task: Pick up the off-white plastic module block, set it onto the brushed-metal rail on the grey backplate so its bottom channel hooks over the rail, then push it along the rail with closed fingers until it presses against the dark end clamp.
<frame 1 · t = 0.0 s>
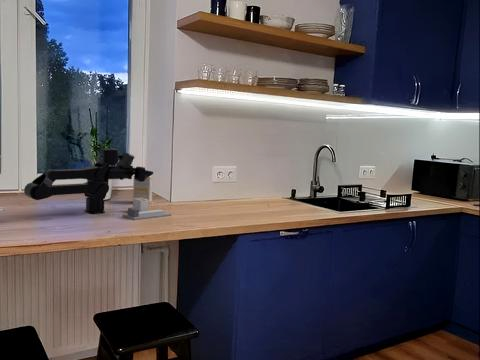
hand: (147, 171, 201), 17 cm above the countertop, tool horizontal, fingers open, 9 cm apart
rail board: (147, 215, 185), on the countertop
supplement box: (142, 202, 213), on the countertop
module: (140, 211, 193), on the countertop
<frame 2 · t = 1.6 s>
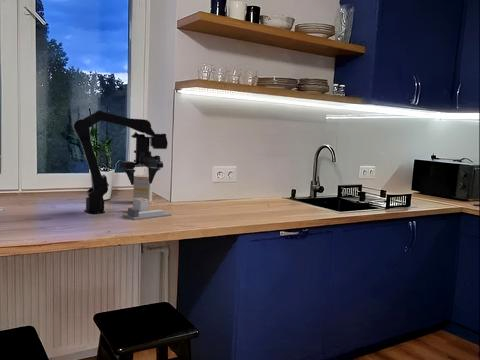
hand: (141, 184, 191), 12 cm above the countertop, tool pointing down, fingers open, 9 cm apart
nothing on the countertop moved.
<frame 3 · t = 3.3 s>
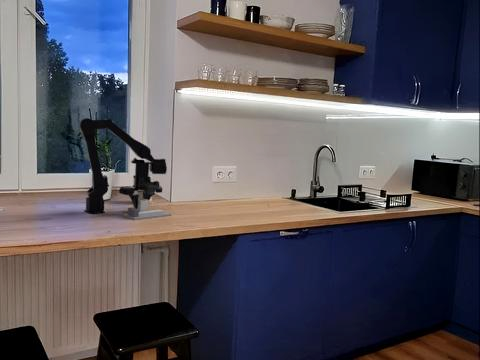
hand: (140, 209, 193), 1 cm above the countertop, tool pointing down, fingers closed on module, 4 cm apart
module: (140, 211, 193), on the countertop, touching gripper
everything else where it was.
when the fingers open (3 cm above the countertop, at t = 6.8 s): module stays where it is, resting on rail board.
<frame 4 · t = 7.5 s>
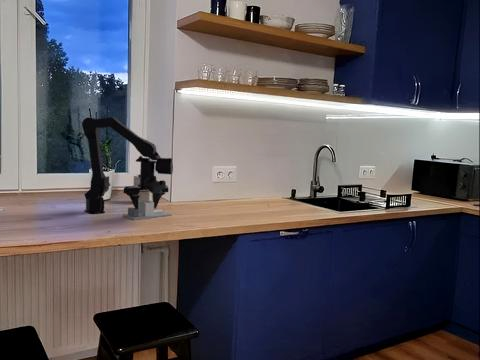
hand: (145, 209, 185), 3 cm above the countertop, tool pointing down, fingers open, 8 cm apart
module: (145, 214, 185), point 1 cm above the countertop, touching rail board
everything else where it was.
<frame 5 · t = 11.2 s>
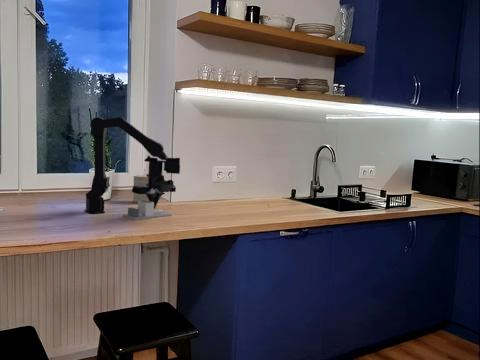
hand: (153, 208, 187), 3 cm above the countertop, tool pointing down, fingers closed
module: (145, 214, 185), point 1 cm above the countertop, touching gripper, rail board
everything else where it was.
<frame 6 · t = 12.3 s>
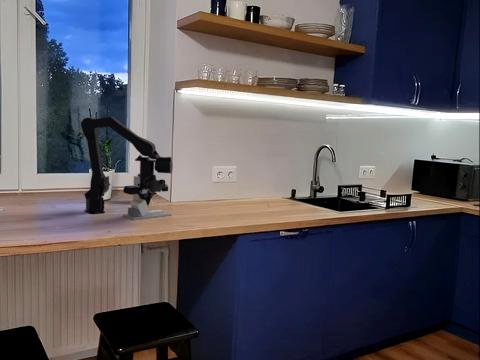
hand: (145, 208, 184), 3 cm above the countertop, tool pointing down, fingers closed
module: (142, 212, 183), point 2 cm above the countertop, tilted 28°, touching gripper, rail board
everything else where it was.
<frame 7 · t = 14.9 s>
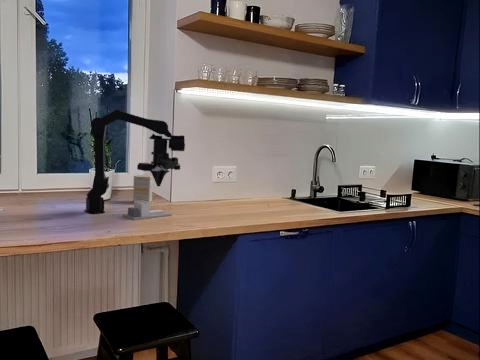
hand: (158, 186, 189), 12 cm above the countertop, tool pointing down, fingers closed
module: (141, 214, 183), point 1 cm above the countertop, touching rail board
everything else where it was.
at the end: module 1.1 cm from the target spot on the rail board, point 0.6 cm above the rail board's base; module tilted 0°; module touching rail board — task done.
